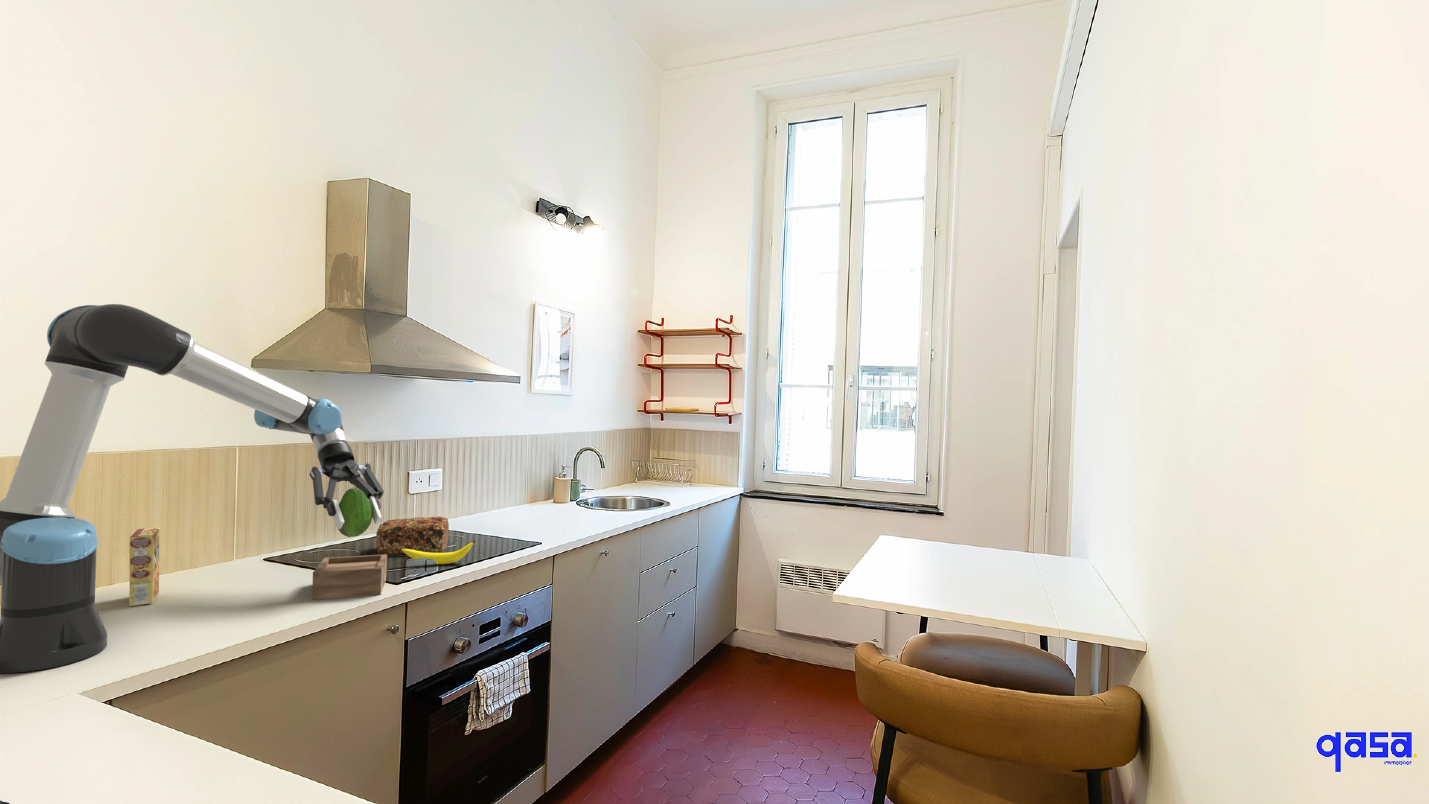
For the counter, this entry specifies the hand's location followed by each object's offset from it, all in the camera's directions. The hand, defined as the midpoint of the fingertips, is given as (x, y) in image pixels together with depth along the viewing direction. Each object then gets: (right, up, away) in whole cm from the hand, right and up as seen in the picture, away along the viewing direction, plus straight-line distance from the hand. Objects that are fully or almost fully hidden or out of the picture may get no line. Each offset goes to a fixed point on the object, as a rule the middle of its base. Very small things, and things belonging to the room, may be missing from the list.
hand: (360, 523), depth 157 cm
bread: (-6, -16, +41) cm, 44 cm away
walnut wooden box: (-3, -16, +2) cm, 17 cm away
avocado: (-3, -4, +2) cm, 5 cm away
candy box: (-42, -15, -11) cm, 46 cm away
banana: (+8, -17, +26) cm, 32 cm away
